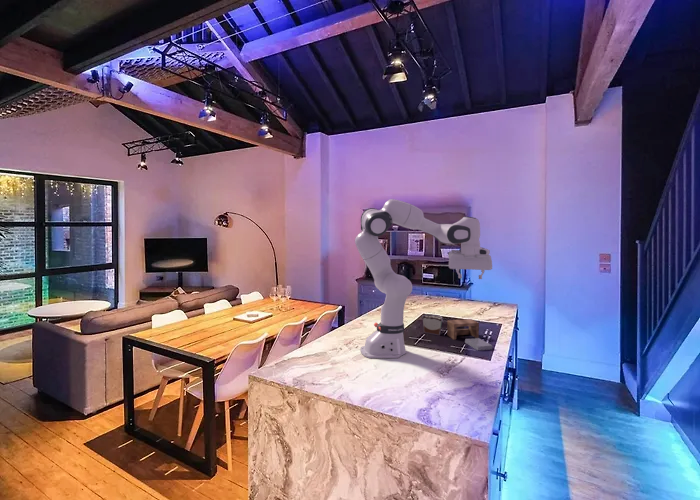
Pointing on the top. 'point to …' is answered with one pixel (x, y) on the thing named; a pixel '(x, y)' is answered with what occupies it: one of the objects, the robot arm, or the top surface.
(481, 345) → the slate tile
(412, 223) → the robot arm
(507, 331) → the top surface
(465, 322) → the walnut shelf
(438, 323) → the food container
